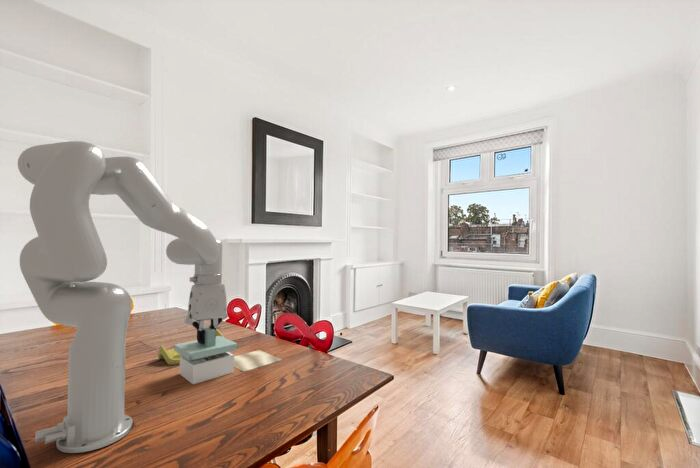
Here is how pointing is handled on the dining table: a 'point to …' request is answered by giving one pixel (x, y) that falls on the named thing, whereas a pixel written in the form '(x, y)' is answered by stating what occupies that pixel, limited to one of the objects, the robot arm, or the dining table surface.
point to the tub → (206, 368)
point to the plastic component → (175, 353)
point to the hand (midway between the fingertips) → (206, 341)
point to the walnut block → (213, 357)
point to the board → (254, 360)
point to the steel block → (198, 360)
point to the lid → (205, 346)
